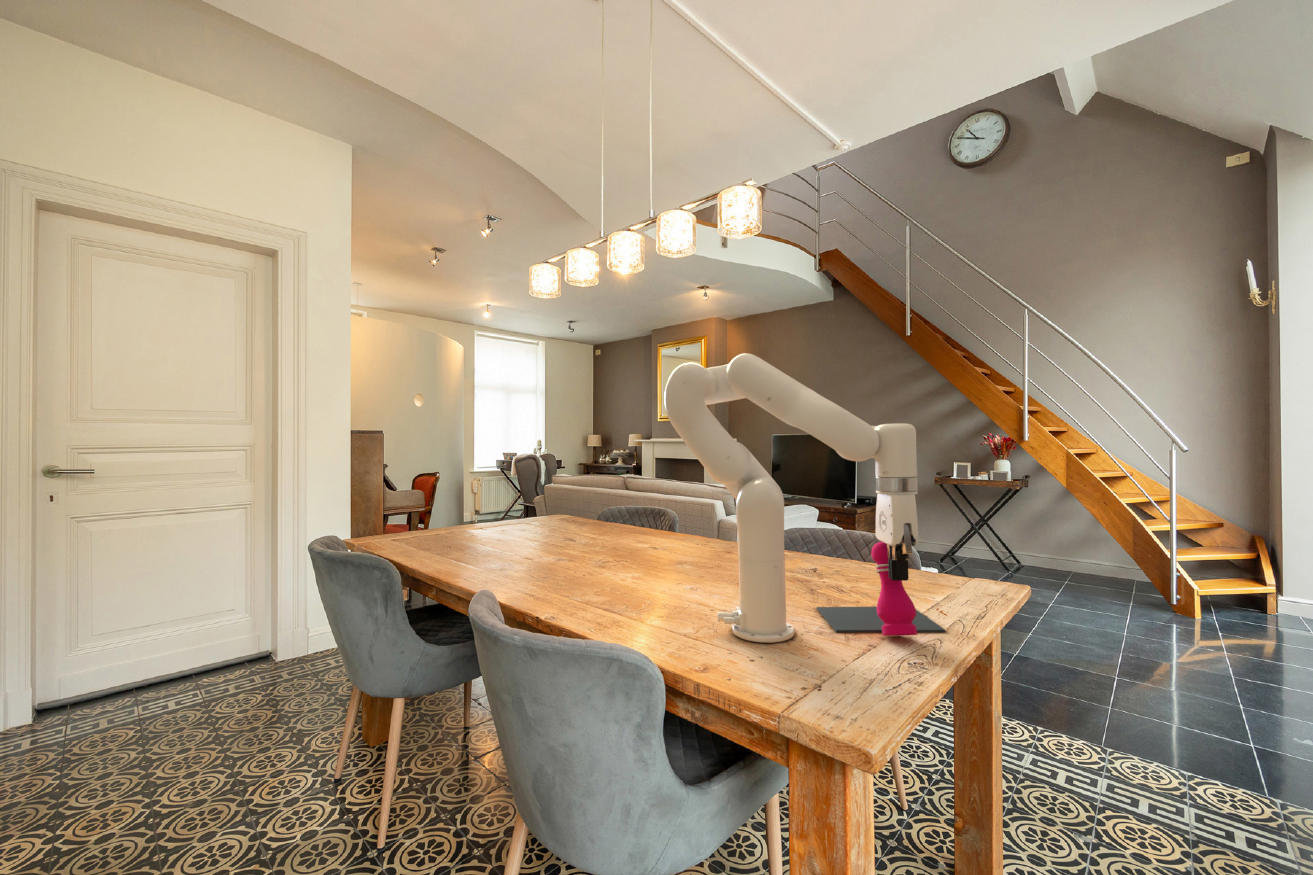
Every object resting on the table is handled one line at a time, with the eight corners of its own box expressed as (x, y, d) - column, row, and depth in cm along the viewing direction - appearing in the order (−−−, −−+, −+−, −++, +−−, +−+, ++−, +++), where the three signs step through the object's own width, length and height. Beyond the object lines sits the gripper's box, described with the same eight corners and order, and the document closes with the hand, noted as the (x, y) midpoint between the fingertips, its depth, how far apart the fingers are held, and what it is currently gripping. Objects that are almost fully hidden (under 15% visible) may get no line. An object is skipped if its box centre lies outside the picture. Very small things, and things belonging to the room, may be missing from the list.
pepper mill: (879, 634, 103) (864, 532, 111) (880, 635, 110) (866, 538, 117) (921, 634, 101) (902, 529, 108) (919, 635, 107) (901, 535, 114)
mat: (836, 632, 110) (836, 630, 110) (816, 608, 126) (816, 606, 126) (945, 632, 109) (945, 629, 109) (911, 608, 125) (911, 606, 125)
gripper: (864, 483, 113) (866, 570, 113) (891, 489, 98) (893, 589, 98) (900, 483, 113) (902, 570, 113) (933, 488, 98) (935, 589, 98)
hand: (898, 579), depth 105 cm, fingers closed
